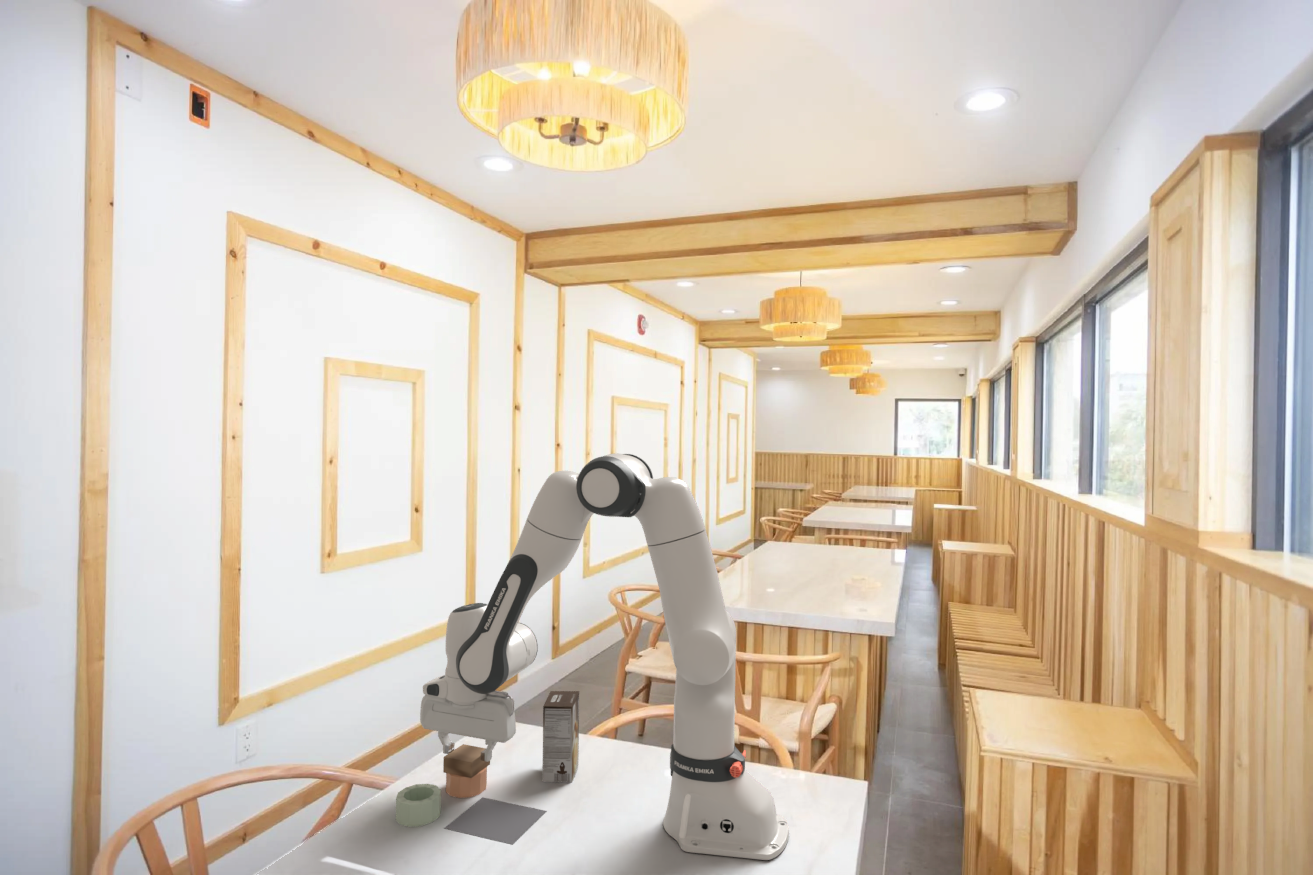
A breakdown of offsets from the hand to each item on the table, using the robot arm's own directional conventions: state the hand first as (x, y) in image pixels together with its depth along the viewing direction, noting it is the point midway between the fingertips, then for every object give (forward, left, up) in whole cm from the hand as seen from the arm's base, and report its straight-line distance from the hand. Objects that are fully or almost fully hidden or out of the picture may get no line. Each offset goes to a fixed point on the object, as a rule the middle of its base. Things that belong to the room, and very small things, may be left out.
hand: (467, 756), depth 143 cm
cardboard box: (0, 0, -2) cm, 2 cm away
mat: (-12, +8, -7) cm, 16 cm away
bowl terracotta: (0, 0, -7) cm, 7 cm away
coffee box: (-14, -13, -7) cm, 20 cm away
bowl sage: (+2, +12, -7) cm, 14 cm away
